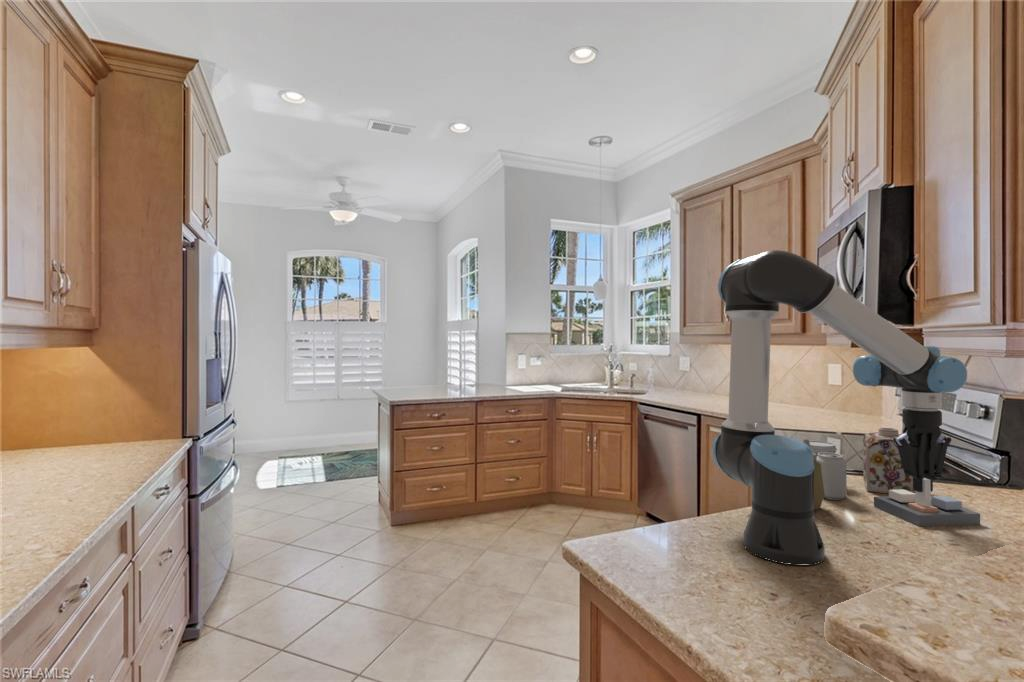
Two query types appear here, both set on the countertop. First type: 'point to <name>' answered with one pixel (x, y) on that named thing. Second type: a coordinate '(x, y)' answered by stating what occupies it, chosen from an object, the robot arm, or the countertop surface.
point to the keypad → (927, 514)
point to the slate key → (946, 503)
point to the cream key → (902, 496)
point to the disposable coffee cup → (822, 447)
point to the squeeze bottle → (817, 481)
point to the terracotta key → (922, 508)
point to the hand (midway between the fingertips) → (923, 504)
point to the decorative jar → (884, 463)
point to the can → (833, 475)
